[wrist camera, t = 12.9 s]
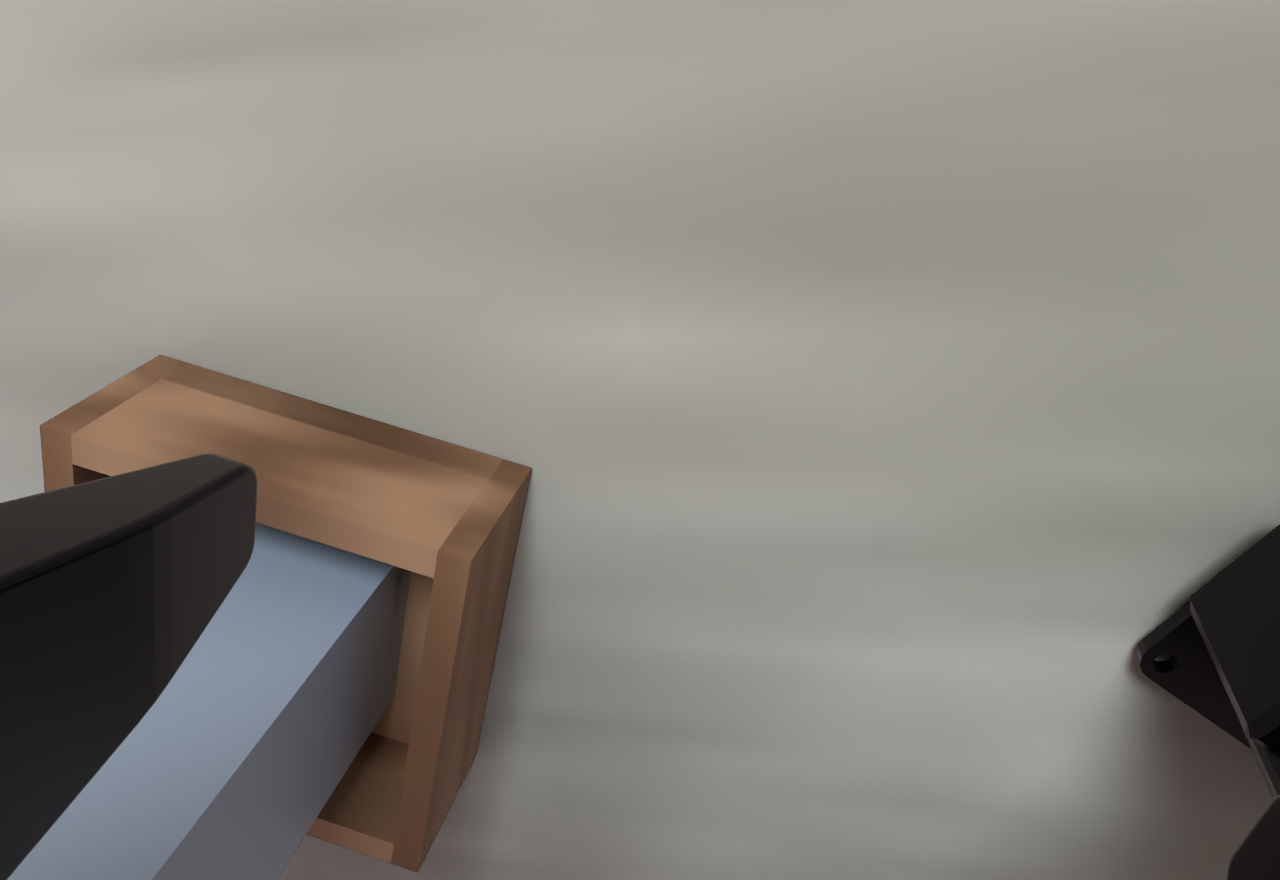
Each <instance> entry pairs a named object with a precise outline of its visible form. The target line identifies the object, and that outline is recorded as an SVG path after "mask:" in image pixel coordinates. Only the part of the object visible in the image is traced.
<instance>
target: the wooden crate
mask: <svg viewBox="0 0 1280 880" xmlns="http://www.w3.org/2000/svg"><path fill="white" fill-rule="evenodd" d="M40 434H41V447H42V461H43V475H44V489H45V492H48V491H53V490H57V489H61V488H65V487H69V486H73V485H77V484H82V483H86V482H90V481H94V480H98V479H102V478H106V477H110V476H115V475H119V474H123V473H127V472H131V471H135V470H139V469H144V468H148V467H152V466H156V465H160V464H164V463H168V462H173V461H177V460H181V459H185V458H189V457H193V456H197V455H202V454H207V453H213V454H217V455H221V456H224V457H227V458H230V459H234V460H237V461H240V462H243V463H246V464H249V465H250V466H251V467H252V468H253V469H254V470H255V472H256V476H257V506H256V522H257V523H260V524H264V525H267V526H270V527H273V528H276V529H279V530H282V531H286V532H289V533H292V534H295V535H298V536H301V537H305V538H308V539H311V540H314V541H317V542H320V543H324V544H327V545H330V546H333V547H336V548H339V549H342V550H346V551H349V552H352V553H355V554H358V555H361V556H365V557H368V558H371V559H374V560H377V561H380V562H384V563H387V564H390V565H393V566H396V567H399V568H402V569H406V570H409V571H411V574H410V582H409V589H408V597H407V605H406V612H405V620H404V628H403V636H402V643H401V651H400V659H399V666H398V674H397V682H396V690H395V696H394V697H393V699H392V700H391V702H390V703H389V705H388V707H387V708H386V710H385V711H384V713H383V714H382V716H381V718H380V719H379V721H378V722H377V724H376V725H375V727H374V728H373V730H372V732H371V733H370V735H369V736H368V738H367V739H366V741H365V743H364V744H363V746H362V747H361V749H360V750H359V752H358V754H357V755H356V757H355V758H354V760H353V761H352V763H351V765H350V766H349V768H348V769H347V771H346V772H345V774H344V775H343V777H342V779H341V780H340V782H339V783H338V785H337V786H336V788H335V790H334V791H333V793H332V794H331V796H330V797H329V799H328V801H327V802H326V804H325V805H324V807H323V808H322V810H321V812H320V813H319V815H318V816H317V818H316V819H315V821H314V822H313V824H312V826H311V827H310V829H309V830H308V832H307V833H306V834H307V835H309V836H312V837H315V838H318V839H321V840H324V841H327V842H330V843H333V844H336V845H339V846H342V847H344V848H347V849H350V850H353V851H356V852H359V853H362V854H365V855H368V856H371V857H374V858H377V859H379V860H382V861H385V862H388V863H391V864H394V865H397V866H400V867H403V868H406V869H409V870H412V871H414V872H417V873H418V872H419V870H420V868H421V866H422V864H423V862H424V860H425V857H426V855H427V853H428V851H429V849H430V847H431V845H432V843H433V841H434V839H435V837H436V835H437V833H438V831H439V829H440V827H441V825H442V823H443V821H444V819H445V817H446V815H447V813H448V811H449V809H450V807H451V805H452V803H453V801H454V799H455V797H456V795H457V793H458V791H459V789H460V787H461V785H462V783H463V780H464V778H465V776H466V774H467V772H468V770H469V768H470V766H471V764H472V762H473V760H474V758H475V756H476V752H477V747H478V741H479V736H480V731H481V726H482V721H483V716H484V711H485V706H486V700H487V695H488V690H489V685H490V680H491V675H492V670H493V665H494V659H495V654H496V649H497V644H498V639H499V634H500V629H501V624H502V618H503V613H504V608H505V603H506V598H507V593H508V588H509V583H510V577H511V572H512V567H513V562H514V557H515V552H516V547H517V542H518V536H519V531H520V526H521V521H522V516H523V511H524V506H525V500H526V495H527V490H528V485H529V480H530V475H531V470H532V468H530V467H527V466H524V465H520V464H517V463H514V462H510V461H507V460H504V459H501V458H497V457H494V456H491V455H487V454H484V453H481V452H478V451H474V450H471V449H468V448H464V447H461V446H458V445H455V444H451V443H448V442H445V441H441V440H438V439H435V438H432V437H428V436H425V435H422V434H418V433H415V432H412V431H409V430H405V429H402V428H399V427H395V426H392V425H389V424H386V423H382V422H379V421H376V420H372V419H369V418H366V417H363V416H359V415H356V414H353V413H349V412H346V411H343V410H340V409H336V408H333V407H330V406H326V405H323V404H320V403H317V402H313V401H310V400H307V399H303V398H300V397H297V396H294V395H290V394H287V393H284V392H280V391H277V390H274V389H271V388H267V387H264V386H261V385H258V384H254V383H251V382H248V381H244V380H241V379H238V378H235V377H231V376H228V375H225V374H221V373H218V372H215V371H212V370H208V369H205V368H202V367H198V366H195V365H192V364H189V363H185V362H182V361H179V360H175V359H172V358H169V357H166V356H162V355H159V356H157V357H156V358H154V359H152V360H151V361H149V362H147V363H145V364H144V365H142V366H140V367H139V368H137V369H135V370H133V371H132V372H130V373H128V374H127V375H125V376H123V377H122V378H120V379H118V380H116V381H115V382H113V383H111V384H110V385H108V386H106V387H104V388H103V389H101V390H99V391H98V392H96V393H94V394H93V395H91V396H89V397H87V398H86V399H84V400H82V401H81V402H79V403H77V404H76V405H74V406H72V407H70V408H69V409H67V410H65V411H64V412H62V413H60V414H58V415H57V416H55V417H53V418H52V419H50V420H48V421H47V422H45V423H43V424H41V425H40Z"/></svg>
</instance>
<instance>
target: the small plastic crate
mask: <svg viewBox="0 0 1280 880" xmlns="http://www.w3.org/2000/svg"><path fill="white" fill-rule="evenodd" d="M410 574H411V571H409V570H406V569H402V568H399V567H396V566H393V565H390V564H387V563H384V562H380V561H377V560H374V559H371V558H368V557H365V556H361V555H358V554H355V553H352V552H349V551H346V550H342V549H339V548H336V547H333V546H330V545H327V544H324V543H320V542H317V541H314V540H311V539H308V538H305V537H301V536H298V535H295V534H292V533H289V532H286V531H282V530H279V529H276V528H273V527H270V526H267V525H264V524H260V523H257V522H256V529H255V544H254V548H253V552H252V555H251V558H250V560H249V562H248V565H247V566H246V568H245V570H244V571H243V573H242V574H241V576H240V577H239V579H238V580H237V582H236V583H235V585H234V586H233V588H232V589H231V591H230V592H229V594H228V595H227V597H226V598H225V600H224V601H223V603H222V604H221V606H220V607H219V609H218V610H217V612H216V613H215V615H214V616H213V618H212V619H211V621H210V622H209V624H208V625H207V627H206V628H205V630H204V631H203V633H202V634H201V636H200V637H199V639H198V640H197V642H196V643H195V645H194V646H193V648H192V649H191V651H190V652H189V654H188V655H187V657H186V658H185V660H184V661H183V663H182V664H181V666H180V667H179V669H178V670H177V672H176V673H175V675H174V676H173V678H172V679H171V681H170V682H169V684H168V685H167V687H166V688H165V689H164V691H163V692H162V694H161V695H160V696H159V698H158V699H157V701H156V702H155V703H154V704H153V706H152V707H151V708H150V709H149V711H148V712H147V713H146V714H145V716H144V717H143V718H142V720H141V721H140V722H139V723H138V724H137V726H136V727H135V728H134V729H133V730H132V732H131V733H130V734H129V735H128V736H127V738H126V739H125V740H124V741H123V742H122V744H121V745H120V746H119V747H118V748H117V749H116V751H115V752H114V753H113V754H112V755H111V757H110V758H109V759H108V760H107V761H106V763H105V764H104V765H103V766H102V767H101V769H100V770H99V771H98V772H97V773H96V775H95V776H94V777H93V778H92V779H91V780H90V782H89V783H88V784H87V785H86V786H85V788H84V789H83V790H82V791H81V792H80V794H79V795H78V796H77V797H76V798H75V800H74V801H73V802H72V803H71V804H70V805H69V807H68V808H67V809H66V810H65V811H64V813H63V814H62V815H61V816H60V817H59V819H58V820H57V821H56V822H55V823H54V825H53V826H52V827H51V828H50V829H49V830H48V832H47V833H46V834H45V835H44V836H43V838H42V839H41V840H40V841H39V842H38V844H37V845H36V846H35V847H34V848H33V850H32V851H31V852H30V853H29V854H28V855H27V857H26V858H25V859H24V860H23V861H22V863H21V864H20V865H19V866H18V867H17V869H16V870H15V871H14V872H13V873H12V875H11V876H10V877H9V878H8V879H7V880H277V879H278V877H279V876H280V874H281V873H282V871H283V869H284V868H285V866H286V865H287V863H288V862H289V860H290V858H291V857H292V855H293V854H294V852H295V851H296V849H297V848H298V846H299V844H300V843H301V841H302V840H303V838H304V837H305V835H306V833H307V832H308V830H309V829H310V827H311V826H312V824H313V822H314V821H315V819H316V818H317V816H318V815H319V813H320V812H321V810H322V808H323V807H324V805H325V804H326V802H327V801H328V799H329V797H330V796H331V794H332V793H333V791H334V790H335V788H336V786H337V785H338V783H339V782H340V780H341V779H342V777H343V775H344V774H345V772H346V771H347V769H348V768H349V766H350V765H351V763H352V761H353V760H354V758H355V757H356V755H357V754H358V752H359V750H360V749H361V747H362V746H363V744H364V743H365V741H366V739H367V738H368V736H369V735H370V733H371V732H372V730H373V728H374V727H375V725H376V724H377V722H378V721H379V719H380V718H381V716H382V714H383V713H384V711H385V710H386V708H387V707H388V705H389V703H390V702H391V700H392V699H393V697H394V696H395V690H396V682H397V674H398V666H399V659H400V651H401V643H402V636H403V628H404V620H405V612H406V605H407V597H408V589H409V582H410Z"/></svg>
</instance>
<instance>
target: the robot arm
mask: <svg viewBox="0 0 1280 880" xmlns="http://www.w3.org/2000/svg"><path fill="white" fill-rule="evenodd" d="M256 506H257V476H256V472H255V470H254V469H253V468H252V467H251V466H250V465H249V464H246V463H243V462H240V461H237V460H234V459H230V458H227V457H224V456H221V455H217V454H213V453H207V454H202V455H197V456H193V457H189V458H185V459H181V460H177V461H173V462H168V463H164V464H160V465H156V466H152V467H148V468H144V469H139V470H135V471H131V472H127V473H123V474H119V475H115V476H110V477H106V478H102V479H98V480H94V481H90V482H86V483H82V484H77V485H73V486H69V487H65V488H61V489H57V490H53V491H48V492H44V493H40V494H36V495H32V496H28V497H24V498H19V499H15V500H11V501H7V502H3V503H0V880H7V879H8V878H9V877H10V876H11V875H12V873H13V872H14V871H15V870H16V869H17V867H18V866H19V865H20V864H21V863H22V861H23V860H24V859H25V858H26V857H27V855H28V854H29V853H30V852H31V851H32V850H33V848H34V847H35V846H36V845H37V844H38V842H39V841H40V840H41V839H42V838H43V836H44V835H45V834H46V833H47V832H48V830H49V829H50V828H51V827H52V826H53V825H54V823H55V822H56V821H57V820H58V819H59V817H60V816H61V815H62V814H63V813H64V811H65V810H66V809H67V808H68V807H69V805H70V804H71V803H72V802H73V801H74V800H75V798H76V797H77V796H78V795H79V794H80V792H81V791H82V790H83V789H84V788H85V786H86V785H87V784H88V783H89V782H90V780H91V779H92V778H93V777H94V776H95V775H96V773H97V772H98V771H99V770H100V769H101V767H102V766H103V765H104V764H105V763H106V761H107V760H108V759H109V758H110V757H111V755H112V754H113V753H114V752H115V751H116V749H117V748H118V747H119V746H120V745H121V744H122V742H123V741H124V740H125V739H126V738H127V736H128V735H129V734H130V733H131V732H132V730H133V729H134V728H135V727H136V726H137V724H138V723H139V722H140V721H141V720H142V718H143V717H144V716H145V714H146V713H147V712H148V711H149V709H150V708H151V707H152V706H153V704H154V703H155V702H156V701H157V699H158V698H159V696H160V695H161V694H162V692H163V691H164V689H165V688H166V687H167V685H168V684H169V682H170V681H171V679H172V678H173V676H174V675H175V673H176V672H177V670H178V669H179V667H180V666H181V664H182V663H183V661H184V660H185V658H186V657H187V655H188V654H189V652H190V651H191V649H192V648H193V646H194V645H195V643H196V642H197V640H198V639H199V637H200V636H201V634H202V633H203V631H204V630H205V628H206V627H207V625H208V624H209V622H210V621H211V619H212V618H213V616H214V615H215V613H216V612H217V610H218V609H219V607H220V606H221V604H222V603H223V601H224V600H225V598H226V597H227V595H228V594H229V592H230V591H231V589H232V588H233V586H234V585H235V583H236V582H237V580H238V579H239V577H240V576H241V574H242V573H243V571H244V570H245V568H246V566H247V565H248V562H249V560H250V558H251V555H252V552H253V548H254V544H255V529H256ZM1161 654H1171V655H1173V656H1172V657H1171V658H1170V659H1168V660H1166V661H1156V660H1154V659H1155V657H1156V656H1159V655H1161ZM1136 655H1137V658H1138V661H1139V664H1140V667H1141V670H1142V672H1143V673H1144V674H1145V675H1146V676H1147V677H1148V678H1149V679H1151V680H1152V681H1154V682H1155V683H1157V684H1158V685H1159V686H1161V687H1162V688H1164V689H1165V690H1167V691H1168V692H1170V693H1171V694H1172V695H1174V696H1175V697H1177V698H1178V699H1180V700H1181V701H1183V702H1184V703H1185V704H1187V705H1188V706H1190V707H1191V708H1193V709H1194V710H1196V711H1197V712H1199V713H1200V714H1201V715H1203V716H1204V717H1206V718H1207V719H1209V720H1210V721H1212V722H1213V723H1214V724H1216V725H1217V726H1219V727H1220V728H1222V729H1223V730H1225V731H1226V732H1227V733H1229V734H1230V735H1232V736H1233V737H1235V738H1236V739H1238V740H1239V741H1240V742H1242V743H1243V744H1245V745H1246V746H1248V747H1249V748H1251V749H1252V751H1253V754H1254V756H1255V758H1256V760H1257V763H1258V765H1259V767H1260V769H1261V771H1262V774H1263V776H1264V778H1265V780H1266V783H1267V785H1268V787H1269V789H1270V791H1271V794H1272V796H1273V798H1274V800H1273V801H1272V802H1271V804H1270V805H1269V806H1268V808H1267V809H1266V810H1265V812H1264V813H1263V814H1262V816H1261V817H1260V819H1259V820H1258V821H1257V823H1256V824H1255V825H1254V827H1253V828H1252V829H1251V831H1250V832H1249V833H1248V835H1247V836H1246V837H1245V839H1244V840H1243V842H1242V843H1241V844H1240V846H1239V847H1238V848H1237V850H1236V851H1235V853H1234V855H1233V856H1232V859H1231V861H1230V864H1229V868H1228V874H1227V880H1280V525H1278V526H1277V527H1276V528H1275V529H1274V530H1272V531H1271V532H1270V533H1269V534H1267V535H1266V536H1265V537H1264V538H1262V539H1261V540H1260V541H1259V542H1257V543H1256V544H1255V545H1254V546H1253V547H1251V548H1250V549H1249V550H1248V551H1246V552H1245V553H1244V554H1243V555H1241V556H1240V557H1239V558H1238V559H1236V560H1235V561H1234V562H1233V563H1232V564H1230V565H1229V566H1228V567H1227V568H1225V569H1224V570H1223V571H1222V572H1220V573H1219V574H1218V575H1217V576H1215V577H1214V578H1213V579H1212V580H1211V581H1209V582H1208V583H1207V584H1206V585H1204V586H1203V587H1202V588H1201V589H1199V590H1198V591H1197V592H1196V593H1194V594H1193V595H1192V596H1191V598H1190V602H1189V603H1187V604H1186V605H1185V606H1184V607H1182V608H1181V609H1180V610H1179V611H1177V612H1176V613H1175V614H1174V615H1172V616H1171V617H1170V618H1169V619H1167V620H1166V621H1165V622H1164V623H1162V624H1161V625H1160V626H1159V627H1158V628H1156V629H1155V630H1154V631H1153V632H1151V633H1150V634H1149V635H1148V636H1146V637H1145V638H1144V639H1143V640H1142V641H1141V642H1140V643H1139V645H1138V646H1137V650H1136Z"/></svg>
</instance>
